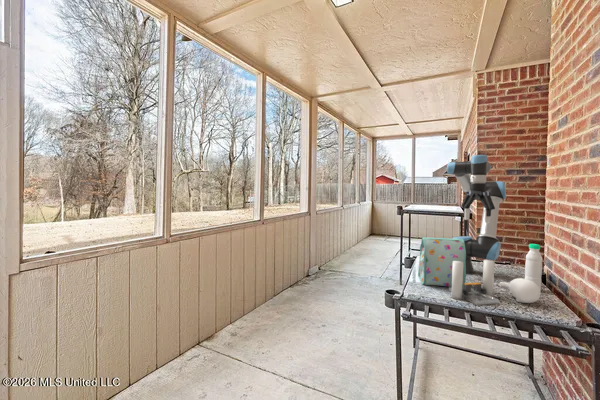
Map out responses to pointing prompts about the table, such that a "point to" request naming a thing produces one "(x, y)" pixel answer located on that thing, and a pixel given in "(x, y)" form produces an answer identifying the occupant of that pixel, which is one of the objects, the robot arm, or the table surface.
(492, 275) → the off-white domed rod
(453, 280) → the white tapered rounded cylinder
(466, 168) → the robot arm
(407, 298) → the table surface
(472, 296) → the plate
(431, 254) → the lunch bag
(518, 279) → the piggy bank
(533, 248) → the water bottle
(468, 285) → the orange-faced thin slab
